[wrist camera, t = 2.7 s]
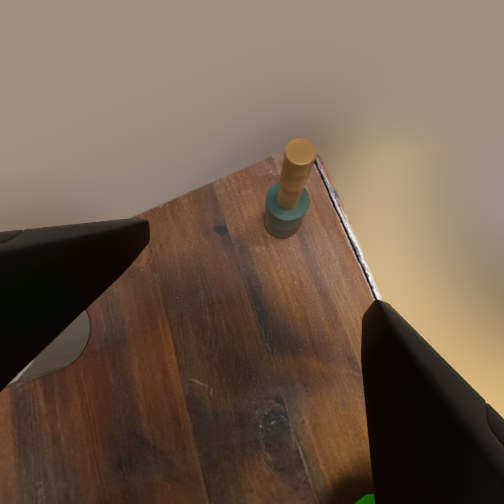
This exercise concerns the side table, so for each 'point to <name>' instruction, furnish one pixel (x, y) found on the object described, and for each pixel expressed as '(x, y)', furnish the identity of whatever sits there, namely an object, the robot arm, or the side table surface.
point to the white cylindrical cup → (58, 351)
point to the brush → (290, 190)
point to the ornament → (367, 499)
